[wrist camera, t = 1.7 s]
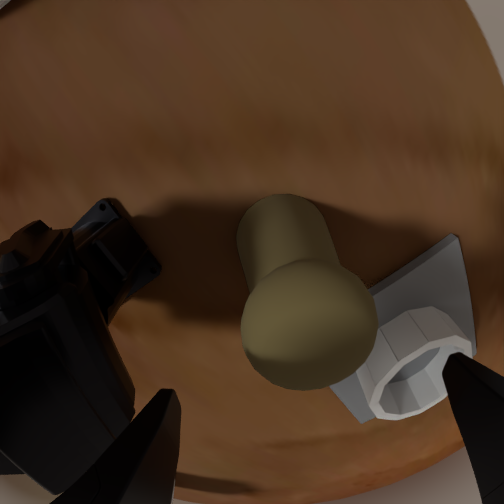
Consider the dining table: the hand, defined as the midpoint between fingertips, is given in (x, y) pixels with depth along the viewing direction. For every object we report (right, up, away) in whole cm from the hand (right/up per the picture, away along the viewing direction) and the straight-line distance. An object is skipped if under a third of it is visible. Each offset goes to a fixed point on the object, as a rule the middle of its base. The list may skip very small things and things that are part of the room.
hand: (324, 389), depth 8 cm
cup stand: (+12, -4, +16) cm, 20 cm away
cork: (0, +5, +11) cm, 13 cm away
